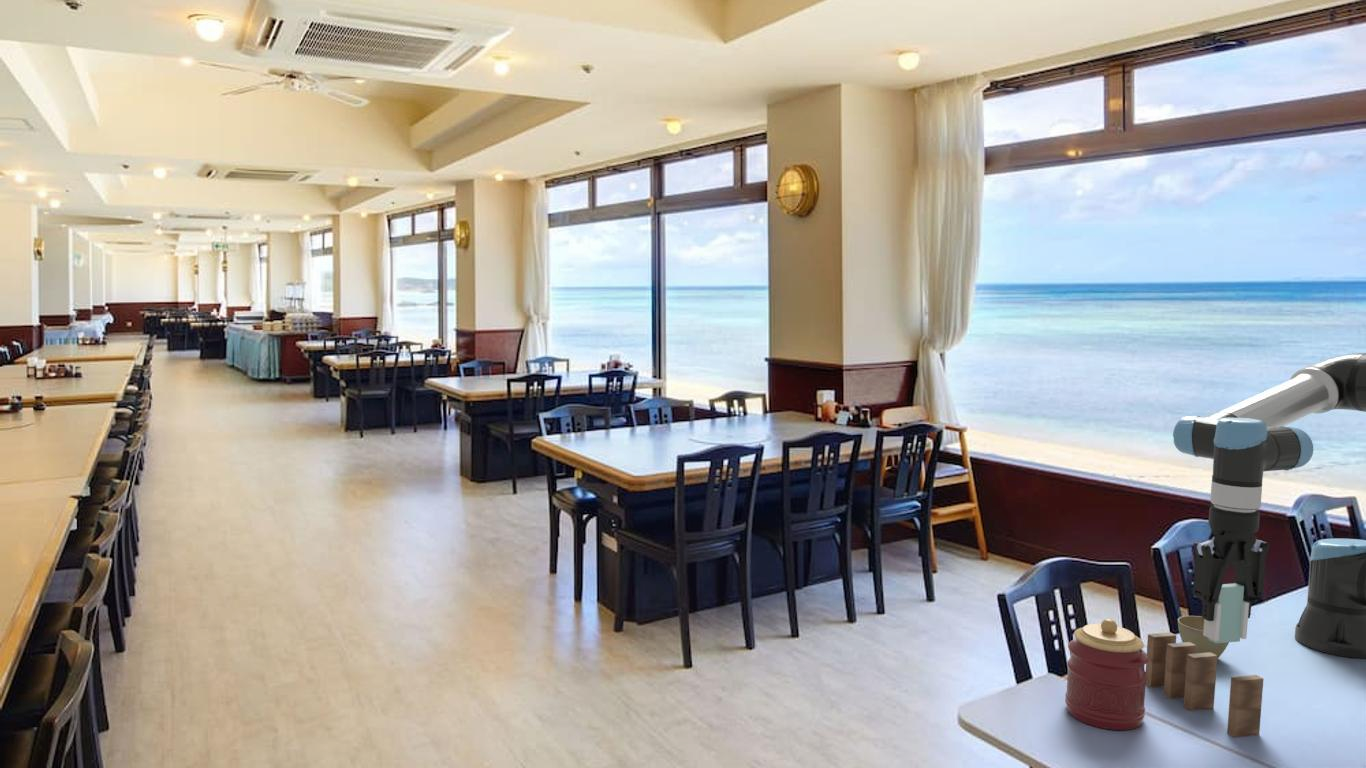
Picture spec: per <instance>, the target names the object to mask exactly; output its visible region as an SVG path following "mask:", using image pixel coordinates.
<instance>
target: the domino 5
mask: <svg viewBox="0 0 1366 768" xmlns="http://www.w3.org/2000/svg"><path fill="white" fill-rule="evenodd" d="M1263 691H1264V677H1261V676H1259V675H1257V674H1250V675H1239V676H1238V675H1237V676H1231V677H1230V689H1229V701H1228V717H1227V729H1226V734H1228V735H1230V736H1232V737H1233V738H1241V737H1250V736H1259V735H1260V731H1261V728H1260V727H1261V717H1262V705H1263Z"/></svg>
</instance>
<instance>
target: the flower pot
mask: <svg viewBox="0 0 1366 768" xmlns="http://www.w3.org/2000/svg"><path fill="white" fill-rule="evenodd" d="M1177 626H1178V632H1179V636H1180V640H1181V643H1183V642H1191V643H1193V644H1195V645H1196V654H1197V653H1208V652H1211V653H1213V654H1215V655H1217V660H1218V659H1219V658H1220V657H1221V655H1223V653H1224V652H1225V650H1226V649H1227V647H1228V646H1229V643H1230V642H1226V643H1214V642H1212V641H1210V640H1208V639H1209V638H1208V637H1206V636H1204V635H1203V630H1204V619H1203V617H1202V615H1182V616H1179V617H1178V618H1177Z"/></svg>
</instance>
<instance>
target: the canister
mask: <svg viewBox="0 0 1366 768" xmlns="http://www.w3.org/2000/svg"><path fill="white" fill-rule="evenodd" d="M1073 637H1074V639H1072V640H1071V641H1069V642H1068V644H1067V648H1068V651H1069V652H1070V658H1069V659H1068V660H1067V664H1066V665H1067V679H1066V681H1067V683H1066V692H1065V698H1064V699H1065V700H1064V701H1065V705H1066V706H1065V707H1066V710H1067V712H1068V713H1069V715H1071V716H1072V717H1074V718H1075V719H1076V720H1078V721H1079V722H1082V723H1085V724H1087V725H1089V726H1093V727H1096V728H1100V729H1106V730H1112V731H1113V730H1114V731H1129V730H1134V729H1136V728H1139V727H1141V725H1142V724H1143V721H1144V719H1145V715H1146V713H1145V712H1146V708H1145V699H1146V698H1145V697H1146V686H1147V685H1146V679H1147V674H1146V669H1145V666H1146V663H1147V662H1148V655H1147V652H1145V651H1144V650H1143V648H1144V646H1145V644H1144V641H1143V640H1142V639H1141V638H1140V637H1138V636H1137V635H1135V633H1134V632H1132V631H1131V630H1129V629H1127V628H1126V627H1125V628H1124V627H1122V626H1118V624H1117V622H1116V621H1115V620H1114V619H1113V618H1112V619H1111V618H1105V619H1103V620H1102V621H1101V623H1089V624H1086V625H1084V626H1083V627H1080V628H1077V629H1076V630H1075V631H1074V632H1073Z"/></svg>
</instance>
